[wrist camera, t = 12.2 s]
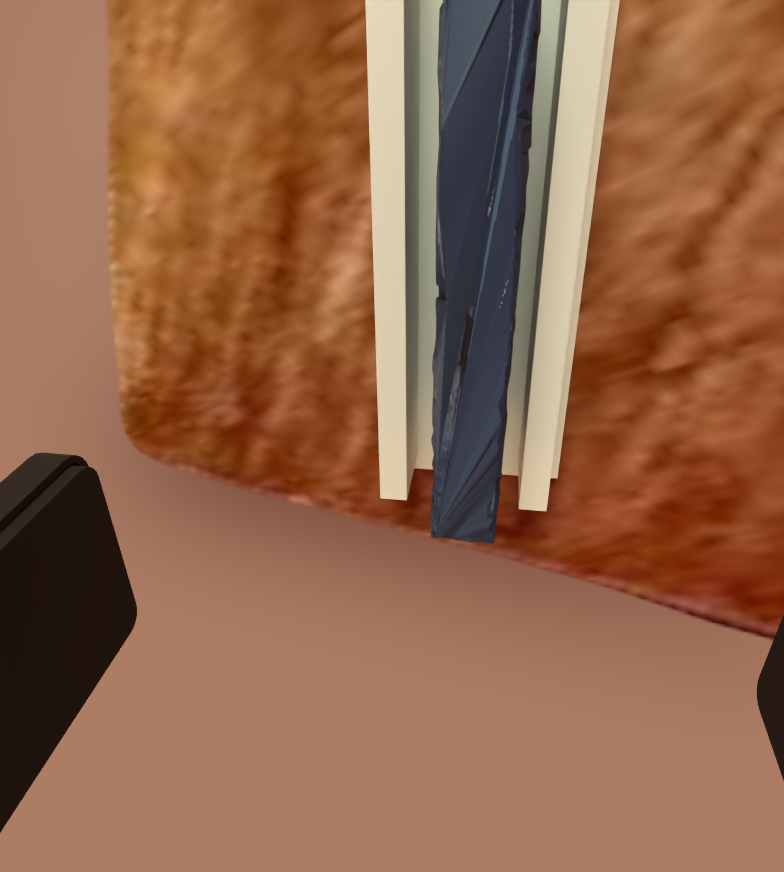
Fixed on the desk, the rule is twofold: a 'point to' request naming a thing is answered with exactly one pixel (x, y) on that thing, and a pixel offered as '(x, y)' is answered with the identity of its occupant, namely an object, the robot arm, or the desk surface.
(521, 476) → the rack
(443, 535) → the vhs cassette tape
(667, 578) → the desk surface
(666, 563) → the desk surface
